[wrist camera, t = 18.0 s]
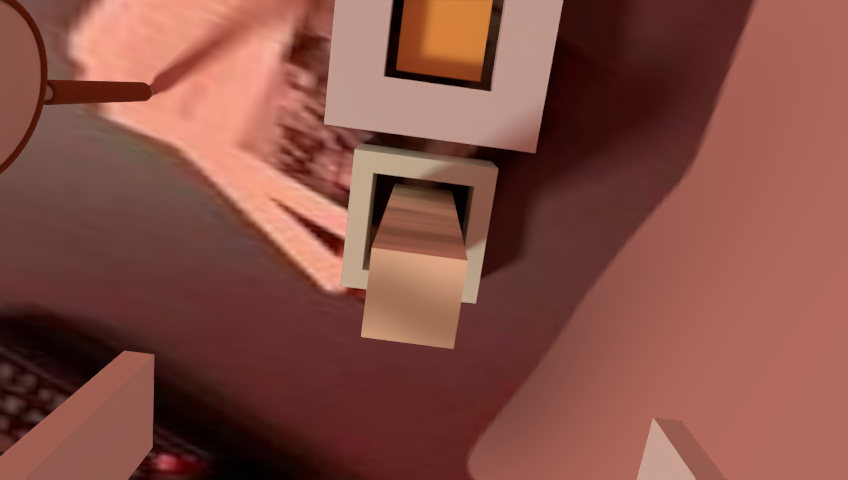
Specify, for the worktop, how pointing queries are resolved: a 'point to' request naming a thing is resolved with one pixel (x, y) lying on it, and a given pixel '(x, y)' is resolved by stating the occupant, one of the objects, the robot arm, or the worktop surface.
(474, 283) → the cream square open box
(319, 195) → the worktop surface
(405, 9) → the button
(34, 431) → the robot arm
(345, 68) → the white box with opening
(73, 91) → the magnifying glass
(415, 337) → the wooden square peg
